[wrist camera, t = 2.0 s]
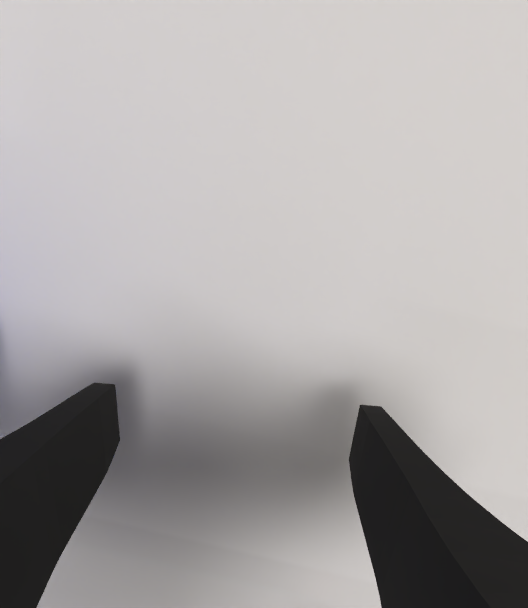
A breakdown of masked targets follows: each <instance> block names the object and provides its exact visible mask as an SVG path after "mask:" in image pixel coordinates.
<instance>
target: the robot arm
mask: <svg viewBox="0 0 528 608" xmlns="http://www.w3.org/2000/svg"><path fill="white" fill-rule="evenodd" d="M119 441H120V436H119V424H118V413H117V401H116V390H115V385H114V384H102V383H93V384H92V385H90V386H88V387H86V388H85V389H83V390H81V391H80V392H78V393H76V394H75V395H73V396H72V397H70V398H68V399H67V400H65V401H64V402H62V403H61V404H59V405H57V406H56V407H54V408H53V409H51V410H49V411H48V412H46V413H45V414H43V415H41V416H40V417H38V418H36V419H35V420H33V421H32V422H30V423H28V424H27V425H25V426H23V427H21V428H20V429H18V430H16V431H14V432H13V433H11V434H9V435H7V436H6V437H4V438H2V439H0V608H36V607H37V605H38V603H39V601H40V598H41V596H42V594H43V592H44V590H45V587H46V585H47V583H48V581H49V578H50V576H51V574H52V572H53V570H54V568H55V566H56V564H57V562H58V560H59V558H60V556H61V554H62V552H63V550H64V548H65V547H66V545H67V543H68V541H69V539H70V538H71V536H72V534H73V532H74V531H75V529H76V527H77V525H78V523H79V522H80V520H81V518H82V516H83V515H84V513H85V511H86V509H87V507H88V506H89V504H90V502H91V500H92V499H93V497H94V495H95V493H96V491H97V489H98V488H99V486H100V484H101V482H102V480H103V479H104V477H105V475H106V473H107V471H108V468H109V466H110V464H111V461H112V459H113V456H114V454H115V451H116V449H117V446H118V444H119ZM349 463H350V471H351V479H352V486H353V492H354V497H355V501H356V505H357V509H358V513H359V516H360V520H361V524H362V528H363V532H364V535H365V539H366V543H367V547H368V551H369V554H370V558H371V562H372V566H373V569H374V573H375V577H376V582H377V586H378V591H379V595H380V600H381V606H382V608H528V542H527V541H526V540H524V539H523V538H522V537H520V536H519V535H517V534H516V533H515V532H514V531H512V530H511V529H510V528H508V527H507V526H506V525H504V524H503V523H502V522H501V521H499V520H498V519H497V518H496V517H494V516H493V515H492V514H491V513H490V512H488V511H487V510H486V509H485V508H483V507H482V506H481V505H480V504H479V503H477V502H476V501H475V500H474V499H473V498H471V497H470V496H469V495H468V494H467V493H466V492H465V491H463V490H462V489H461V488H460V487H459V486H458V485H457V484H456V483H455V482H454V481H453V480H452V479H450V478H449V477H448V476H447V475H446V474H445V473H444V472H443V471H442V470H441V469H440V468H439V467H438V466H437V465H436V464H435V463H434V462H433V461H432V460H431V459H430V458H429V457H428V456H427V455H426V454H425V453H424V452H423V451H422V450H421V449H420V448H419V447H418V446H417V445H416V444H415V443H414V442H413V441H412V440H411V438H410V437H409V436H408V435H407V434H406V433H405V432H404V431H403V430H402V429H401V428H400V427H399V425H398V424H397V423H396V422H395V421H394V420H393V419H392V418H391V417H390V416H389V415H388V413H387V412H386V411H385V410H384V409H383V408H382V407H380V406H368V405H360V408H359V412H358V417H357V422H356V427H355V432H354V437H353V442H352V447H351V452H350V456H349Z"/></svg>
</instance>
